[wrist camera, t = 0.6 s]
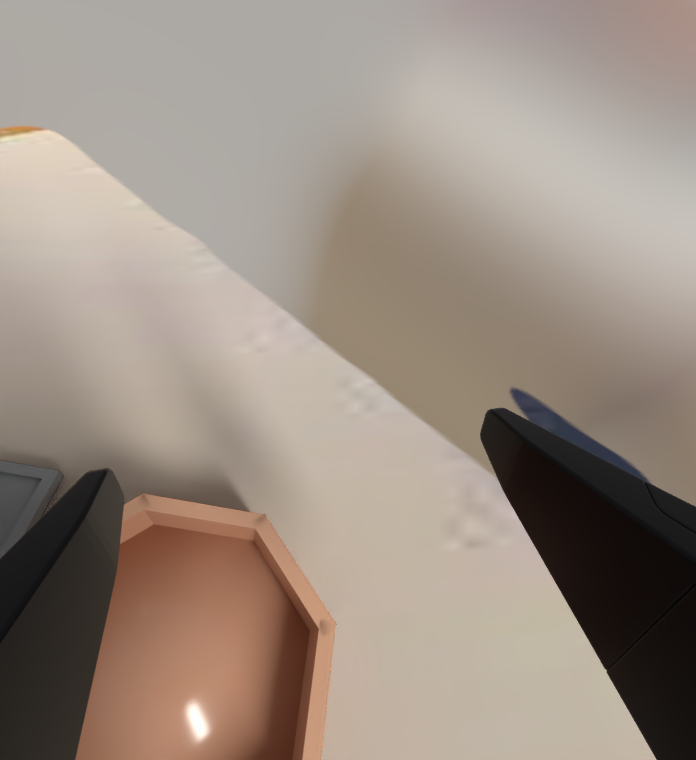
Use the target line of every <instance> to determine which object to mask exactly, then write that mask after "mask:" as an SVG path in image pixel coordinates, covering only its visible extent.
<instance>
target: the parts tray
mask: <svg viewBox="0 0 696 760" xmlns="http://www.w3.org/2000/svg"><path fill="white" fill-rule="evenodd" d="M63 476H64V475H63V474H62V473H61V472H60V471H58V470H52V469H46V468H41V467H35V466H29V465H24V464H18V463H13V462H7V461H1V460H0V558H1V557H2V556H3V555H4V554H5V553H6V552H7V551H8V550H9V549H10V548H11V547H12V546H13V545H14V544H15V543H16V542H17V541H18V540H19V539H20V538H21V537H22V536H23V535H24V534H25V533H26V532H27V531H28V530H29V529H30V528H31V527H32V526H33V525H34V524H35V523H36V522H37V521H38V520H39V519H40V518H41V516H42V514H43V513H44V511H45V509H46V507H47V505H48V504H49V502H50V500H51V498H52V496H53V494H54V493H55V491H56V489H57V487H58V485H59V483H60V482H61V480H62V478H63Z"/></svg>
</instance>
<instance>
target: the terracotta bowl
mask: <svg viewBox="0 0 696 760" xmlns="http://www.w3.org/2000/svg"><path fill="white" fill-rule="evenodd" d="M335 626H336V622H335V621H334V620H333V618H332V617H331V615H330V614H329V612H328V611H327V609H326V608H325V606H324V605H323V603H322V601H321V600H320V598H319V597H318V595H317V594H316V592H315V591H314V589H313V588H312V586H311V585H310V583H309V581H308V580H307V578H306V577H305V575H304V574H303V572H302V571H301V569H300V568H299V566H298V565H297V563H296V562H295V560H294V558H293V557H292V555H291V554H290V552H289V551H288V549H287V548H286V546H285V545H284V543H283V542H282V540H281V538H280V537H279V535H278V534H277V532H276V531H275V529H274V528H273V526H272V525H271V523H270V522H269V520H268V518H267V517H266V515H265V514H258V513H252V512H246V511H241V510H235V509H229V508H223V507H218V506H212V505H206V504H200V503H195V502H189V501H183V500H177V499H172V498H166V497H160V496H155V495H149V494H145V493H144V494H143V493H142V495H140V496H138V497H136V498H135V499H133V500H131V501H129V502H127V503H126V504H124V509H123V519H122V530H121V540H120V550H119V560H118V568H117V573H116V578H115V583H114V588H113V592H112V597H111V601H110V606H109V610H108V615H107V619H106V624H105V628H104V633H103V637H102V642H101V646H100V651H99V655H98V660H97V664H96V669H95V673H94V678H93V682H92V687H91V691H90V696H89V700H88V705H87V709H86V714H85V718H84V723H83V727H82V732H81V736H80V741H79V746H78V750H77V755H76V759H75V760H321V756H322V747H323V737H324V728H325V719H326V709H327V700H328V690H329V681H330V672H331V662H332V653H333V644H334V634H335Z"/></svg>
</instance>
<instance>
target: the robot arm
mask: <svg viewBox="0 0 696 760" xmlns="http://www.w3.org/2000/svg"><path fill="white" fill-rule="evenodd" d="M480 437H481V441H482V443H483V446H484V448H485V450H486V453H487V455H488V457H489V460H490V462H491V464H492V467H493V469H494V471H495V473H496V476H497V478H498V480H499V483H500V485H501V487H502V489H503V491H504V493H505V495H506V497H507V498H508V500H509V502H510V504H511V505H512V507H513V509H514V511H515V512H516V514H517V516H518V518H519V519H520V521H521V523H522V525H523V526H524V528H525V530H526V532H527V533H528V535H529V537H530V539H531V540H532V542H533V544H534V546H535V547H536V549H537V551H538V553H539V554H540V556H541V558H542V560H543V561H544V563H545V565H546V567H547V568H548V570H549V572H550V574H551V575H552V577H553V579H554V581H555V582H556V584H557V586H558V588H559V589H560V591H561V593H562V595H563V596H564V598H565V600H566V602H567V603H568V605H569V607H570V609H571V610H572V612H573V614H574V616H575V617H576V619H577V621H578V623H579V624H580V626H581V628H582V630H583V631H584V633H585V635H586V637H587V638H588V640H589V642H590V644H591V645H592V647H593V649H594V651H595V652H596V654H597V656H598V658H599V659H600V661H601V663H602V664H603V666H604V668H605V669H606V670H607V674H608V675H609V677H610V679H611V681H612V682H613V684H614V686H615V688H616V689H617V691H618V693H619V695H620V696H621V698H622V700H623V702H624V703H625V705H626V707H627V709H628V710H629V712H630V714H631V716H632V717H633V719H634V721H635V723H636V724H637V726H638V728H639V730H640V731H641V733H642V735H643V737H644V738H645V740H646V742H647V744H648V745H649V747H650V749H651V751H652V752H653V754H654V756H655V758H656V759H657V760H696V507H695V506H693V505H691V504H689V503H687V502H685V501H683V500H681V499H679V498H677V497H675V496H673V495H671V494H669V493H667V492H665V491H663V490H661V489H659V488H657V487H656V486H654V485H652V484H650V483H648V482H645V483H644V481H643V480H642V479H640V478H638V477H636V476H634V475H632V474H630V473H629V472H627V471H625V470H623V469H621V468H619V467H617V466H615V465H613V464H611V463H609V462H607V461H605V460H603V459H602V458H600V457H598V456H596V455H594V454H592V453H590V452H588V451H586V450H584V449H582V448H580V447H578V446H577V445H575V444H573V443H571V442H569V441H567V440H565V439H563V438H561V437H559V436H557V435H555V434H553V433H552V432H550V431H548V430H546V429H544V428H542V427H540V426H538V425H536V424H534V423H532V422H530V421H528V420H527V419H525V418H523V417H521V416H519V415H517V414H515V413H513V412H511V411H509V410H507V409H505V408H495V409H490V410H488V411H487V412H486V414H485V418H484V422H483V425H482V429H481V433H480ZM123 509H124V495H123V491H122V489H121V487H120V485H119V483H118V481H117V479H116V477H115V475H114V473H113V471H112V470H111V469H109V468H104V469H98V470H91V471H89V472H87V473H86V474H85V475H84V476H83V477H82V478H81V479H80V480H79V481H78V482H76V483H75V484H74V485H73V486H72V487H71V488H70V489H69V490H68V491H67V492H66V493H65V494H64V495H63V496H62V497H61V498H60V499H59V500H58V501H57V502H56V503H55V504H54V505H53V506H52V507H51V508H50V509H49V510H48V511H47V512H46V513H45V514H44V515H43V516H42V517H41V518H40V519H39V520H38V521H37V522H36V523H35V524H34V525H33V526H32V527H31V528H30V529H29V530H28V531H27V532H26V533H25V534H24V535H23V536H22V537H21V538H20V539H19V540H18V541H17V542H16V543H15V544H14V545H13V546H12V547H11V548H10V549H9V550H8V551H7V552H6V553H5V554H4V555H3V556H2V557H1V558H0V760H75V759H76V755H77V750H78V746H79V741H80V736H81V732H82V727H83V723H84V718H85V714H86V709H87V705H88V700H89V696H90V691H91V687H92V682H93V678H94V673H95V669H96V664H97V660H98V655H99V651H100V646H101V642H102V637H103V633H104V628H105V624H106V619H107V615H108V610H109V606H110V601H111V597H112V592H113V588H114V583H115V578H116V573H117V568H118V560H119V550H120V540H121V530H122V519H123Z"/></svg>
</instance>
